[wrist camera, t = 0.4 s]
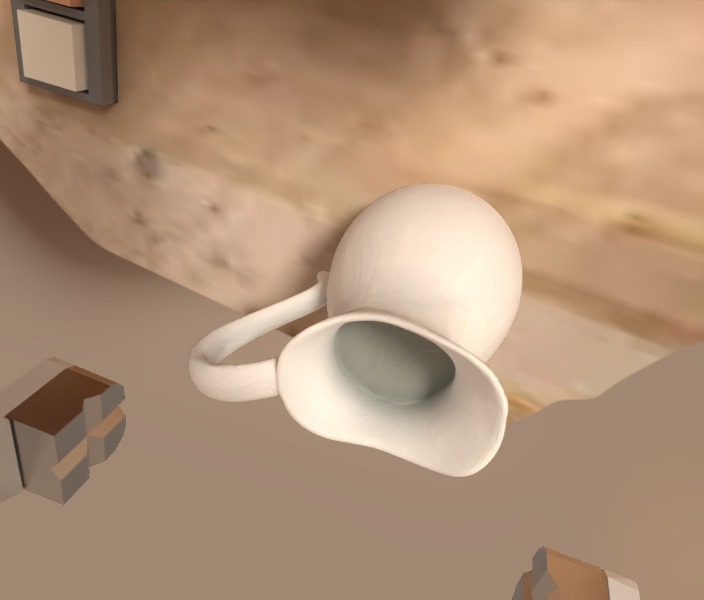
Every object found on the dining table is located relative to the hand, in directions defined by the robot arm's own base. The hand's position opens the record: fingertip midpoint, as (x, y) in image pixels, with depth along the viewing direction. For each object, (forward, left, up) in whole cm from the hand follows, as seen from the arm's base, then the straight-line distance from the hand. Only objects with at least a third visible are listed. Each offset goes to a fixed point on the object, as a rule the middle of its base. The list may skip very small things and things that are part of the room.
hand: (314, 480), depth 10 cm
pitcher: (+16, -4, -47) cm, 50 cm away
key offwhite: (+6, -45, -45) cm, 64 cm away
